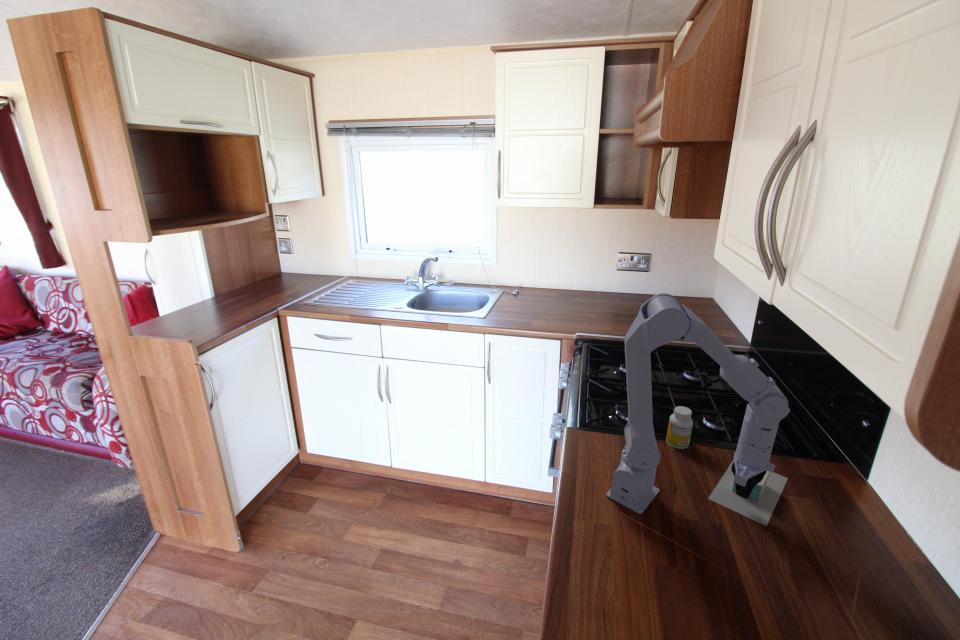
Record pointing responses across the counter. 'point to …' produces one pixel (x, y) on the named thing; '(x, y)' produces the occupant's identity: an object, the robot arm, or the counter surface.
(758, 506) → the grey mat
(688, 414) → the supplement bottle
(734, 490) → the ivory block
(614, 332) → the counter surface
